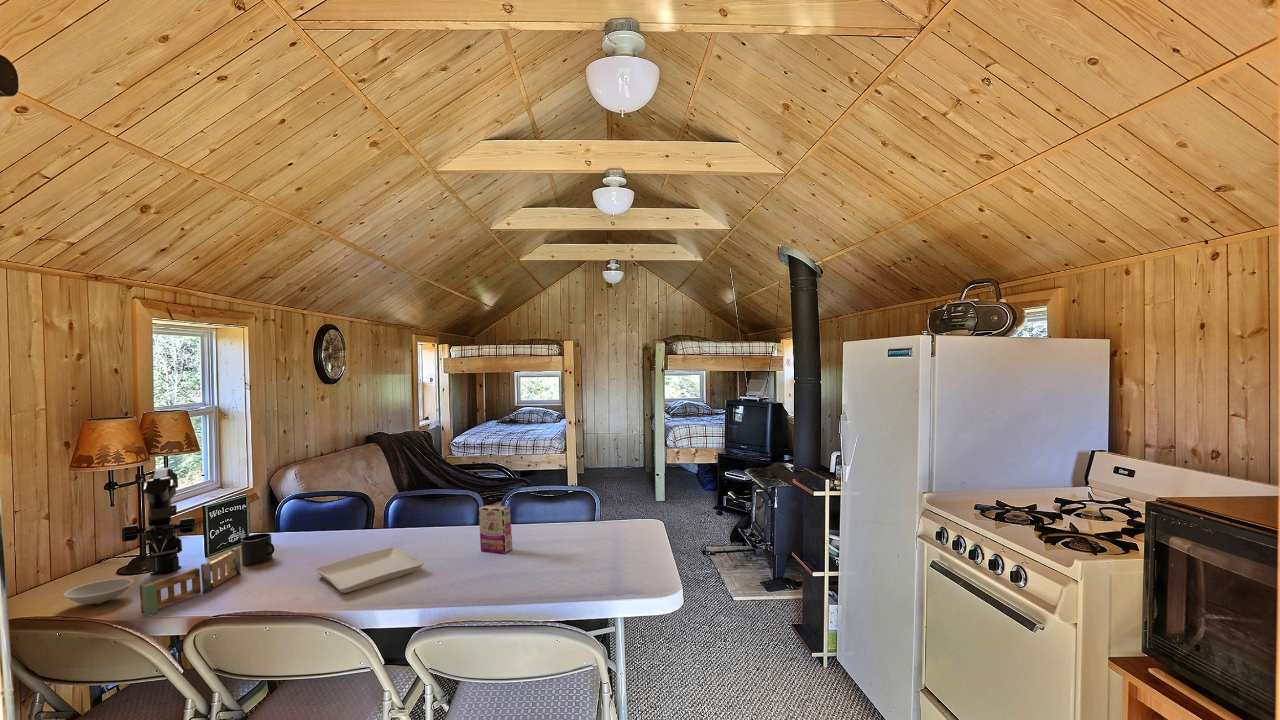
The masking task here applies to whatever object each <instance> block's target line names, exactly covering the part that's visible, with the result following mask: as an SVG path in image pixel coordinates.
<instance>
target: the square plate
mask: <svg viewBox="0 0 1280 720" xmlns="http://www.w3.org/2000/svg"><path fill="white" fill-rule="evenodd" d="M423 565H425V563H424V562H423V561H421V560H420V559H418V558H416V557H415V556H412V555H411V554H409V553H407V552H405V551H403V550H401V549H399V548H397V547H394V546H391V547H388V548H384V549H380V550H375V551H371V552H367V553H364V554H361V555H360V554H359V555H356V556H353V557H350V558H346V559H343V560H339V561H336V562H333V563H329V564H326V565H322V566H318V567H316V568H314V572H316V573H317V574H318V575H320V576H321V577H322V578H324V579H325V580H327V581H328V582H329V583H331V584H332V585H333V586H334V587H335V588H336V589H337V590H338V591H340V593H343V594H345V593H350V592H354V591H358V590H361V589H365V588H368V587H371V586H374V585H377V584H381V583H383V582H388V581H390V580H393V579H396V578H400V577H402V576H405V575H407V574H410V573H413V572H415V571H418V570H419V569H420V568H421V567H422V566H423Z"/></svg>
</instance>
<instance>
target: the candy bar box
mask: <svg viewBox="0 0 1280 720" xmlns="http://www.w3.org/2000/svg"><path fill="white" fill-rule="evenodd" d="M511 516H512V515H511V506H507V505H494V504H493V505H492V504H491V505H489V504H486V505H483V506H480V507H478V518H479V520H478V521H479V523H478V524H479V536H480V552H484V553H494V554H507V553H510V552H511V551H512V550H513V540H512V539H513V538H512V537H513V536H512V520H511V519H512V518H511Z"/></svg>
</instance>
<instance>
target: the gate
mask: <svg viewBox="0 0 1280 720" xmlns="http://www.w3.org/2000/svg"><path fill="white" fill-rule="evenodd" d="M190 580H191V589H190V590H188V585H187V583H188V582H187V581H190ZM149 583H150V582H143V583H140V584H139V586H138V587H139V597H140V598H139V599H140V613H141V614H144V610H143V594H142V586H143V585H146V584H149ZM151 583H155V584H156V593H157V609H161V608H164V607H166V606H169V605H172V604H175V603H177V602H180V601H183V600H186V599H188V598H191V597H194V596H196V595H199V594H201V593H202V584H201V567H200V568H199V567H195V568H191V569H188V570H186V571H183V572H180V573H176V574H174V575H171V576H167V577H164V578H162V579H158V580H155V581H152V582H151ZM177 584H180V593H177V594H176V595H175V585H177ZM166 588H167V598H164V599H162V590H163V589H166Z"/></svg>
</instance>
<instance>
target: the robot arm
mask: <svg viewBox="0 0 1280 720" xmlns="http://www.w3.org/2000/svg"><path fill="white" fill-rule="evenodd" d="M152 471H153V473H152V474H151V475H150V476H149V477H148V479H147V481H146V483H144V484H143V485H144V486H143V493H144V495H146V498H147V502H148V515H147V516H148V517H147V518H148V521H147V522H148V523H147V526H145V527H140V528H139V524H131V525H125V526H123V527H122V529H121V542H123V543H126V542H133V541H136V540H138V538H139V535H144V541H145V542H146V541H147V542H148V553H149V554H148V556H149V559H152V561H153V571H152V572H150V574H149V575H151V576H152V575H154V576H155V575H168V574H171V573H172V572H175V571H177V570H180V569H181V568H182V565H180V562H179V560H180V559H179V556H178V554H180V553H181V552H183V545H182V544H183V543H182V539H180V536H177V530H179V532H180V533H181V534H189V533H193V532H195V529H196V518H194V517H186V518H180V521H179V523H172V516H174V517H175V516H176V515H178V513H177V512H178V511H177V510H178V509H177V508H178V506H177V504H174V505H173V504H172V499H173V497H175V495H176V494H177V488H179V479H178V473H176V472H174V471H172V470H171V467H161V468H156V469H153V470H152Z"/></svg>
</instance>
